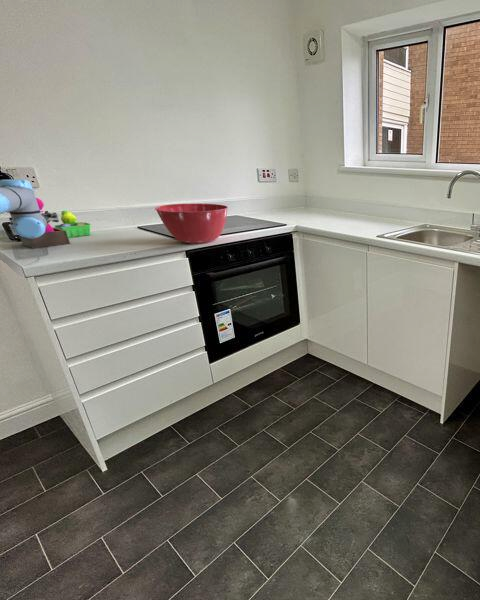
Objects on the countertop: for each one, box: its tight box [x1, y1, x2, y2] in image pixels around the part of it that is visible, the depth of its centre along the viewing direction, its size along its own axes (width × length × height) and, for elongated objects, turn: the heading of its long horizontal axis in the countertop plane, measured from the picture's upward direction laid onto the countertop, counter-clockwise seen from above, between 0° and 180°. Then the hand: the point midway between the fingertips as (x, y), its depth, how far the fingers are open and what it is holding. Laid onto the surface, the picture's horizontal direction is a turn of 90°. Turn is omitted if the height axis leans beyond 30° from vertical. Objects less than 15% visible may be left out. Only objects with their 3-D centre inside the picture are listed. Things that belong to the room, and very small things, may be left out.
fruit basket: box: [54, 210, 92, 238], centre depth 162 cm, size 11×9×11 cm
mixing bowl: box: [154, 203, 229, 245], centre depth 159 cm, size 28×28×15 cm
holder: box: [18, 226, 71, 249], centre depth 146 cm, size 12×12×6 cm
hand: (38, 214), depth 147 cm, fingers closed on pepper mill, 5 cm apart
